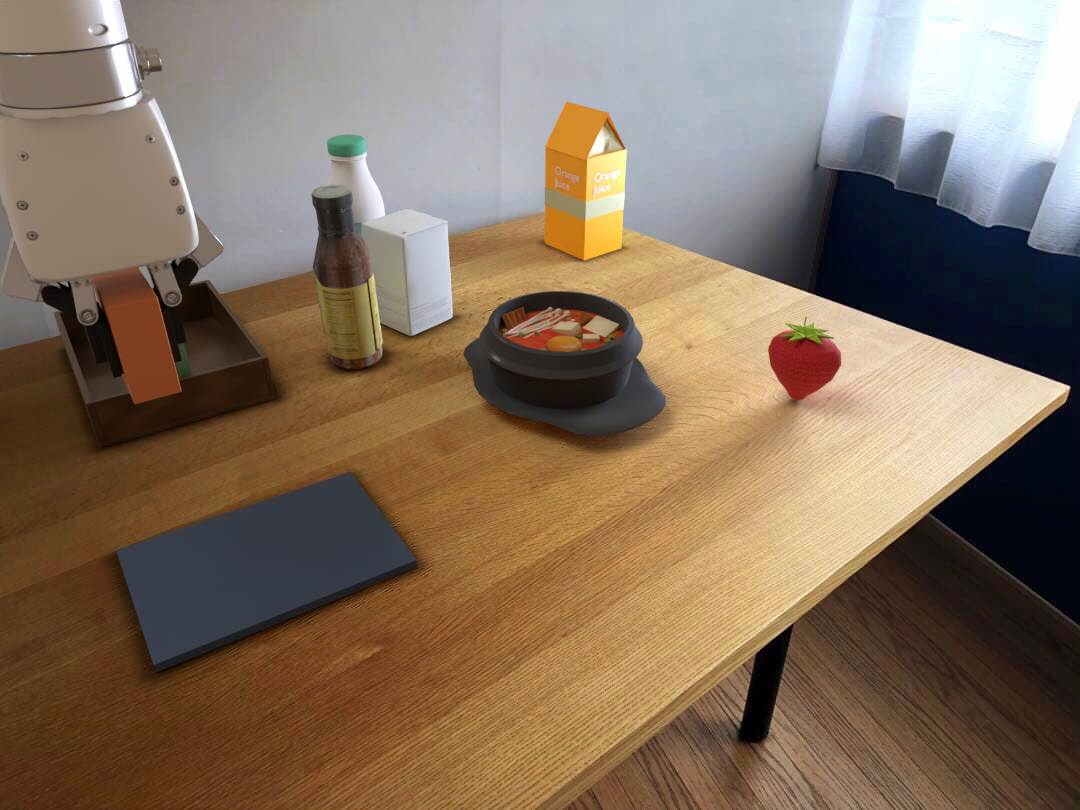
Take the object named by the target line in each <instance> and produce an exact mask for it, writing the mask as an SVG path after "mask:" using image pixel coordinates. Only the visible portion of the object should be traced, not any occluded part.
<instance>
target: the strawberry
mask: <svg viewBox="0 0 1080 810" xmlns="http://www.w3.org/2000/svg"><path fill="white" fill-rule="evenodd" d="M807 318H808V316H807V315H806V316H805V317H804V322H803V325H802V324H799V325H796V324H793V323H792V324H791V323H788V322H785V323H784V324H785V325H786V326H787V327H788V328H790V329H788V330H784V331H781V332H780V333H777V335H774V336H773V337H772V339H771V340H770V343H769V346H768V348H767V352H768V360H769V364H770V368H771V370H772V371H773V373H774V375H775V376H776V379H777V380H778V382H779V383H780V385H781V386H782V388H784V390H785V391H786V392H787V395H788V396H789V397H790V398H791V399H792V400H794V401H803V400H804V399H806V398H807V397H808V396H810V395H812V394H813V393H816V392H818V391H820V390H821V389H822V388H824V387H825V386H826V385H828V384H829V383H831V381H833V380H834V378H835V376H836V375H837V373H838V371H839V370H840V368H841V366H842V352H841V350H840V349H839V347H838V346H837V345H836V343H835V342H834V341H832V340H834V339H835V337H833V336H830V335H828V334H825V333H827V332H829V329H823V328H815V322H812V323H810V324H808V325H807V326H806V321H807Z"/></svg>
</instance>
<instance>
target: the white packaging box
mask: <svg viewBox="0 0 1080 810" xmlns="http://www.w3.org/2000/svg"><path fill="white" fill-rule="evenodd" d="M362 228H363V237H364V242H365V244H366V245H367V247H368V249H369V252H370V258H371V266H372V270H373V273H374V281H375V289H376V296H377V304H378V311H379V318H380V324H382V325H384V326H386V327H388V328H390V329H393V330H395V331H397V332H399V333H402V334H404V335H405V336H408V337H413V336H415V335H417V334H420V333H423V332H424V331H428V330H429V329H431V328H433V327H434V328H435V327H436V326H438V325H440V324H442V323H445V322H447V321H449V320H451V319H453V318H454V310H453V295H452V279H451V264H450V263H451V261H450V246H449V230H448V229H449V228H448V221H447V220H445V219H441V218H438V217H435V216H432V215H430V214H429V215H428V214H426V213H423V212H420V211H418V210H417V211H416V210H414V209H410V208H404V209H401V210H398V211H395V212H391V213H389V214H385V216H383V217H380V218H377V219H374V220H371V221H368V222H365V223H362Z"/></svg>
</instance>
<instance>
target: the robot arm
mask: <svg viewBox="0 0 1080 810" xmlns="http://www.w3.org/2000/svg"><path fill="white" fill-rule="evenodd" d="M157 72H163V63H162V58H161V55H160V52H159V49H158V48H157V47H146V48H145V47H144V46H137V44H135V43H134V42H133V41H132V40H131V39H130V38H129V34H128V30H127V25H126V21H125V16H124V12H123V8H122V4H121V0H0V200H1V203H2V206H3V207H2V208H3V210H4V213H5V214H4V215H5V217H6V220H7V223H8V227H9V230H10V233H11V238H10V242H9V246H8V250H7V253H6V257H5V261H4V264H3V267H2V268H3V269H2V272H1V276H0V288H1V291H2V293H3V294H4V295H5V296H8V297H11V298H15V299H20V300H25V301H30V302H35V303H38V302H39V303H44V304H46V305H47V306H49V307H51V308H53V309H55V310H57V311H61V312H63V313H65V314H68V315H70V316H72V317H74V318H76V319H78V321H79V322H80V323H81V324H83V325H84V328H85V331H86V334H87V337H88V341H89V344H90V347H91V350H92V353H93V356H94V359H95V362H96V364H100V363H104V362H107V364H108V366H109V368H110V371H111V373H112V375H113V377H114V378H116V377H120V376H122V374H124V372H123V369H122V365H121V362H120V358H119V355H118V352H117V348H116V345H115V341H114V338H113V335H112V331H111V328H110V325H109V322H108V320H107V318H106V316H105V314H104V312H103V310H102V308H101V307H100V305H99V303H98V300H97V296H96V293H95V290H94V286H93V280H92V277H93V276H98V275H103V274H108V273H113V272H118V271H123V270H128V269H133V268H138V267H139V268H143V267H146V270H147V272H148V275H149V277H150V281H151V284H152V285H153V287H152V289H153V291H154V293H155V294H156V296H157V297H158V301H159V305H160V309H161V313H162V317H163V321H164V324H165V328H166V332H167V336H168V340H169V344H170V348H171V352H172V356H173V360H174V363H176V362H180V361H182V359H181V355H180V351H179V347H178V344H182V343H186V336H185V332H184V328H183V324H182V320H181V316H180V312H179V308H178V305H179V304H180V303H181V301H182V294H183V293H184V291H185V290H186V289H187V287H188V286H189V284H191V283H193V280H194V279H195V277H196V276H197V274H198V273H199V271H200V270H201V269H203V268H205V267H206V266H207V265H210V263H211V262H213V261H214V260H215V259H217V258H218V257H219V256H221V255H222V253H223V252H224V249H225V248H224V245H223V243H222V242H221V240H219V239H218V237H217V236H216V235H215V234H214V233H213V231H211V229H210V228H209V227H208V226H207V225H206V223H204V221H203V220H202V218H200V217H199V216H198V215H197V213H196V212H195V210H194V208H193V204H192V200H191V197H190V193H189V190H188V187H187V184H186V180H185V177H184V174H183V170H182V167H181V164H180V160H179V158H178V154H177V151H176V148H175V145H174V142H173V140H172V137H171V134H170V131H169V129H168V126H167V124H166V121H165V118H164V116H163V113H162V112H161V109H160V107H159V105H158V102H157V100H156V98H155V96H154V95H153V92H151V91H150V90H148V89H144V88H143V87H144V86H143V83H142V81H145V76H151V75H150V74H151V73H157ZM65 282H66V284H67V285H65V284H63V283H65Z"/></svg>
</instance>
